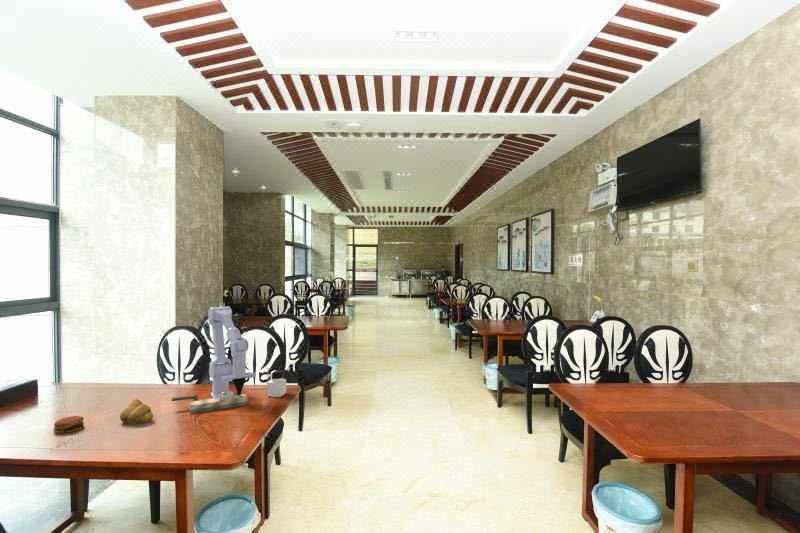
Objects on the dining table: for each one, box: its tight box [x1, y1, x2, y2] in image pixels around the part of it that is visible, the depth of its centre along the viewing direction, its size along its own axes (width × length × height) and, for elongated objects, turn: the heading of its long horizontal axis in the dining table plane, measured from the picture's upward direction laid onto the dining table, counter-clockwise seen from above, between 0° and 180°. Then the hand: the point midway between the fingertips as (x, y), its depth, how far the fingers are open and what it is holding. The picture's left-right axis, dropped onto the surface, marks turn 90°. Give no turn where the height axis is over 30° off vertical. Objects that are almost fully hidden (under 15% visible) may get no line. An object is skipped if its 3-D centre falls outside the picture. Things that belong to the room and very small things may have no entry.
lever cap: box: [218, 391, 235, 401], centre depth 194 cm, size 5×6×3 cm
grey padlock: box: [266, 369, 287, 398], centre depth 212 cm, size 7×7×12 cm
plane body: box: [188, 393, 249, 414], centre depth 192 cm, size 24×7×4 cm, turn 123°
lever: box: [171, 394, 199, 402], centre depth 189 cm, size 10×2×5 cm, turn 115°
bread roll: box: [119, 398, 154, 425], centre depth 173 cm, size 13×10×8 cm
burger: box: [53, 415, 85, 434], centre depth 164 cm, size 10×9×5 cm
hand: (238, 394), depth 197 cm, fingers closed
